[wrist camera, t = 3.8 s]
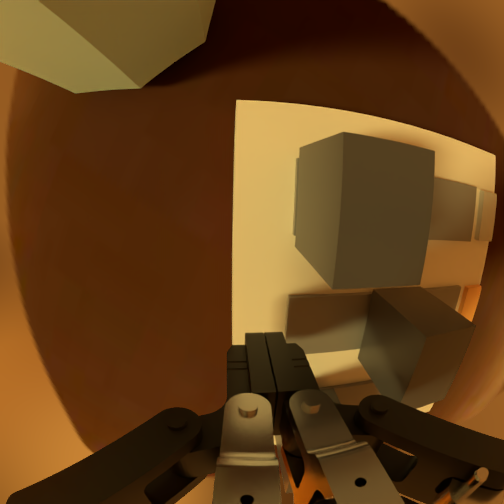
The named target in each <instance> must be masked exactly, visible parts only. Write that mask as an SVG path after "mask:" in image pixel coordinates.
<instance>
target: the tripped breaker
mask: <svg viewBox="0 0 504 504" xmlns="http://www.w3.org/2000/svg"><path fill="white" fill-rule="evenodd" d="M475 327H476V325H475V324H473V323H472V322H471V321H469V320H468V319H467V318H465V317H464V316H462V315H461V314H460V313H458V312H457V311H455V310H454V309H453V308H451V307H450V306H448V305H447V304H445V303H444V302H443V301H441V300H440V299H438V298H437V297H435V296H434V295H432V294H431V293H429V292H428V291H427V290H425V289H424V288H422V287H421V286H416V287H401V288H385V289H373V292H372V297H371V302H370V307H369V312H368V317H367V321H366V326H365V330H364V334H363V339H362V343H361V347H360V351H359V354H358V360H359V361H360V363H361V364H362V366H363V367H364V369H365V370H366V372H367V374H368V375H369V377H370V378H371V380H372V381H373V383H374V384H375V386H376V388H377V389H378V391H379V392H380V394H381V395H383V396H387V397H389V398H391V399H394V400H396V401H398V402H401V403H403V404H405V405H408V406H410V407H413V408H415V409H417V408H420V407H423V406H426V405H429V404H432V403H434V402H437V401H440V400H442V399H444V398H445V396H446V394H447V392H448V390H449V388H450V386H451V384H452V382H453V380H454V378H455V376H456V373H457V371H458V369H459V367H460V365H461V362H462V360H463V358H464V355H465V353H466V351H467V348H468V346H469V343H470V341H471V338H472V335H473V332H474V330H475Z"/></svg>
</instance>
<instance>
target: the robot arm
mask: <svg viewBox="0 0 504 504" xmlns="http://www.w3.org/2000/svg"><path fill="white" fill-rule="evenodd" d="M275 435H281V439H282V445H281V454H282V458H283V461H284V464H285V468H286V471H287V474H288V477H289V481H290V484H291V487H292V490H293V495H294V504H418V503H416V502H414V501H412V500H409V499H407V498H405V497H403V496H400V495H399V493H401V494H403V495H406V496H408V497H410V498H413V499H415V500H418V501H420V502H423V503H426V504H502V502H503V499H504V440H501V439H498V438H494V437H492V436H488V435H485V434H482V433H479V432H476V431H473V430H470V429H467V428H464V427H462V426H459V425H456V424H453V423H451V422H448V421H445V420H443V419H440V418H438V417H435V416H432V415H430V414H427V413H425V412H422V411H420V410H417V409H415V408H413V407H410V406H408V405H405V404H403V403H401V402H398V401H396V400H394V399H391V398H389V397H387V396H383V395H370V396H367V397H365V398H363V399H362V400H361V402H360V403H359V405H344V404H338V403H335V402H333V401H332V399H331V398H330V397H329V396H328V395H327V394H326V393H324V392H322V391H320V389H319V386H318V384H317V382H316V379H315V377H314V374H313V372H312V369H311V367H310V364H309V362H308V360H307V357H306V355H305V352H304V350H303V349H302V348H301V347H300V346H299V345H297V344H296V343H286V340H285V337H284V334H283V332H264V333H263V332H255V333H245V345H232V346H231V347H230V349H229V350H228V352H227V400H226V403H225V404H224V406H223V407H222V408H220V409H219V410H217V411H216V412H213V413H210V414H206V415H201V416H198V415H197V414H196V413H194V412H193V411H191V410H189V409H186V408H179V407H176V408H169V409H166V410H163V411H162V412H160V413H159V414H157V415H156V416H154V417H153V418H151V419H149V420H148V421H146V422H145V423H143V424H142V425H140V426H139V427H137V428H135V429H134V430H132V431H131V432H129V433H127V434H126V435H124V436H123V437H121V438H119V439H118V440H116V441H114V442H113V443H111V444H109V445H108V446H106V447H104V448H102V449H101V450H99V451H97V452H95V453H94V454H92V455H90V456H88V457H86V458H85V459H83V460H81V461H79V462H78V463H75V464H74V465H72V466H70V467H68V468H66V469H64V470H62V471H60V472H58V473H56V474H54V475H52V476H50V477H48V478H46V479H44V480H42V481H40V482H37V483H35V484H33V485H31V486H29V487H26V488H24V489H22V490H19V491H17V492H15V493H13V494H12V495H10V497H9V498H8V500H7V502H6V504H175V503H176V502H177V501H178V500H180V499H181V498H182V497H183V496H185V495H186V494H187V493H188V492H190V491H191V490H192V489H193V488H194V487H195V486H197V485H198V484H199V483H200V482H201V481H202V480H203V479H205V477H206V476H207V475H208V474H211V473H215V482H214V491H213V501H212V504H282V502H281V489H280V475H279V464H278V459H277V458H275V450H274V436H275ZM383 442H386V443H389V444H391V445H393V446H395V447H397V448H400V449H402V450H404V451H407V452H409V453H411V454H413V455H415V456H410V455H407V454H404V453H402V452H400V451H398V450H396V449H394V448H392V447H389V446H387V445H385V444H383ZM398 492H399V493H398Z"/></svg>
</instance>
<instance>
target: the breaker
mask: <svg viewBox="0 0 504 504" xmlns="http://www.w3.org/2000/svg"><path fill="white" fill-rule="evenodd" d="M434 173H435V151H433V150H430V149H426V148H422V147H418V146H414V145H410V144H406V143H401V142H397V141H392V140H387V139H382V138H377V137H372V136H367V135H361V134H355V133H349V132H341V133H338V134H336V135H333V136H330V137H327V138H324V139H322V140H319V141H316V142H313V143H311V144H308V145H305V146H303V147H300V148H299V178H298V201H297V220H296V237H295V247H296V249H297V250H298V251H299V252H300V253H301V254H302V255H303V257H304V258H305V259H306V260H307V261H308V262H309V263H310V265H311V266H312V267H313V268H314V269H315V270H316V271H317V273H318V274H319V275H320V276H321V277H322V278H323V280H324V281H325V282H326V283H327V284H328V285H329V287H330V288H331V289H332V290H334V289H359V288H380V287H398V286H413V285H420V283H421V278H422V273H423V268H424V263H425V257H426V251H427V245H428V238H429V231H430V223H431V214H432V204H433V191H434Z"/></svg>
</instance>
